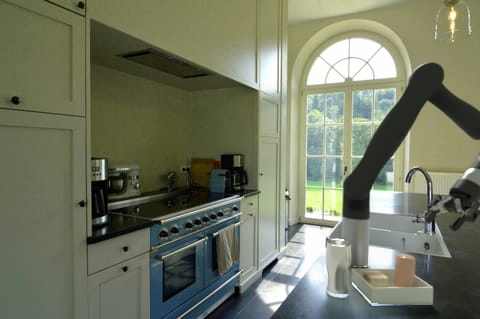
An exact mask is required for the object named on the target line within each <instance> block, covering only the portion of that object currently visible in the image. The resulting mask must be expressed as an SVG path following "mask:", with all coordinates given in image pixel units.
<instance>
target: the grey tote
mask: <svg viewBox="0 0 480 319" xmlns="http://www.w3.org/2000/svg"><path fill="white" fill-rule="evenodd" d="M362 271H380V272H381V273H383V274H384V275H385V276H386V277H388V287H376V288H373V287H372V286H371V285H370V284H369V283H368V282H367V281H366V280H365V279H364V278H363V277H362ZM394 278H395V267H394V268H392V267H391V268H389V267H388V268H387V267H386V268H380V267H379V268H351V283H352V282H353V283H354V284H355V285H356V286H357V288H358V289H359V290H360V291H361V292H362V293H363V294H364V295H365V296H366V297H367V298H368V299H369V300H370V301H371V303H378V304H410V305H434V304H433V302H434V286H432V285H431V284H428V282H426V281H424V280H422V279H421V278H420V277H418V276H417V275H415V276H414V287H394Z"/></svg>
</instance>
